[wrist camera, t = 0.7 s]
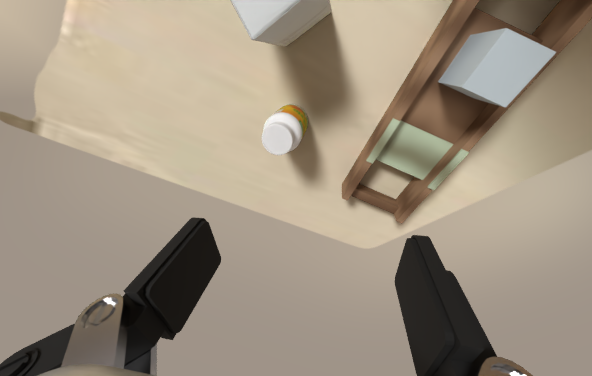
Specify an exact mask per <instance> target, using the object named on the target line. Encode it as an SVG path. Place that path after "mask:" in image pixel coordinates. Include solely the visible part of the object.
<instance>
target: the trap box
mask: <svg viewBox="0 0 592 376" xmlns="http://www.w3.org/2000/svg"><path fill="white" fill-rule="evenodd" d="M478 2H479V0H453V1H452V3H451V5H450V6H449V8H448V10H447V11H446V13H445V15H444V16H443V18H442V20H441V21H440V23H439V25H438V26H437V28H436V30H435V31H434V33H433V35H432V36H431V38H430V40H429V41H428V43H427V44H426V46H425V48H424V49H423V51H422V53H421V54H420V56H419V58H418V59H417V61H416V63H415V64H414V66H413V68H412V69H411V71H410V73H409V74H408V76H407V78H406V79H405V81H404V83H403V84H402V86H401V88H400V89H399V91H398V92H397V94H396V96H395V97H394V99H393V101H392V102H391V104H390V106H389V107H388V109H387V111H386V112H385V114H384V116H383V117H382V119H381V121H380V122H379V124H378V126H377V127H376V129H375V131H374V132H373V134H372V136H371V137H370V139H369V140H368V142H367V144H366V145H365V147H364V149H363V150H362V152H361V154H360V155H359V157H358V159H357V160H356V162H355V164H354V165H353V167H352V169H351V170H350V172H349V174H348V175H347V177H346V179H345V180H344V182H343V184H342V198H343V199H345V200H348V199H349V198H350V196H353V197H356V198H358V199H360V200H363V201H365V202H367V203H370V204H372V205H374V206H377V207H379V208H381V209H384V210H386V211H389V212H391V213H393V214H394V216H395V218H396V221H397V222H400V223H403V222H404V221H405V219H406V218H407V217H408V216H409V215H410V214H411V213H412V212H413V211H414V210H415V209H416V208H417V207H418V205H419V204H420V203H421V202H422V201H423V200H424V199H425V198H426V197H427V196H428V195H429V194H430V192H431V191H432V190H435V189H436V188H437V187H438V186H439V185H440V184H441V182H442V181H443V180H444V179H445V178H446V177H447V176H448V175H449V174H450V173H451V172H452V171H453V170H454V169H455V167H456V166H457V165H458V164H459V163H460V162H461V161H462V160H463V159H464V158H465V157H466V156H467V155H468V154H469V152H468V151H469V150H470V149H471V148H472V147H473V146H474V145H475V144H476V143H477V142H478V141H479V139H480V138H481V137H482V136H483V135H484V134H485V133H486V132H487V131H488V130H489V129H490V128H491V127H492V125H493V124H494V123H495V122H496V121H497V120H498V119H499V118H500V117H501V116H502V115H503V114H504V112H505V111H506V110H507V109H508V108H509V107H510V106H511V105H512V104H513V103H514V102H515V101H516V99H517V98H518V97H519V96H520V95H521V94H522V93H523V92H524V91H525V90H526V89H527V88H528V87H529V85H530V84H531V83H532V82H533V81H534V80H535V79H536V78H537V77H538V76H539V75H540V74H541V72H542V71H543V70H544V69H545V68H546V67H547V66H548V65H549V64H550V63H551V62H552V61H553V59H554V58H555V57H556V56H557V55H558V54H559V53H560V52H561V51H562V50H563V49H564V48H565V47H566V45H567V44H568V43H569V42H570V41H571V40H572V39H573V38H574V37H575V36H576V35H577V34H578V32H579V31H580V30H581V29H582V28H583V27H584V26H585V25H586V24H587V23H588V22H589V21H590V20H591V18H592V0H560V1H559V3H558V4H557V5H556V6H555V8H554V9H553V10H552V11H551V12H550V14H549V15H548V16H547V17H546V18H545V20H544V21H543V22H542V23H541V24H540V26H539V27H538V28H537V29H536V31H535V32H534V33H533V34H532V35H530V34H528V33H526V32H524V31H522V30H520V29H518V28H516V27H514V26H512V25H509V24H507V23H505V22H503V21H501V20H499V19H497V18H495V17H493V16H491V15H489V14H487V13H485V12H483V11H480V10H478V9H476V8H475V6H476V5H477V3H478ZM504 28H508V29H510V30H512V31H514V32H516V33H518V34H520V35H522V36H524V37H526V38H528V39H530V40H532V41H535V42H537V43H539V44H541V45H543V46H545V47H547V48H549V49H551V50H553V51H555V52H556V53H555V54H554V56H553V57H552V58H551V59H550V60H549V61H548V62H547V63H546V64H545V65H544V66H543V68H542V69H541V70H540V71H539V72H538V73H537V74H536V75H535V76H534V77H533V78H532V80H531V81H530V82H529V83H528V84H527V85H526V86H525V87H524V88H523V89H522V90H521V92H520V93H519V94H518V95H517V96H516V97H515V98H514V99H513V100H512V101H511V102H510V104H509V105H508V106H507V107H506V108H505V107H502V106H498V105H495V104H491V103H488V102H484V101H481V100H477V99H474V98H472V97H470V96H467V95H465V94H463V93H461V92H459V91H457V90H454V89H452V88H450V87H448V86H446V85H444V84H441V83H439V82H438V81H439V80H440V78H441V77H442V75H443V74H444V72H445V71H446V70H447V68H448V67H449V65H450V64H451V62H452V61H453V59H454V58H455V56H456V55H457V54H458V52H459V51H460V49H461V48H462V46H463V45H464V43H465V42H466V41H467V39H468V38H469V36H470V35H473V34H478V33H483V32H488V31H494V30H499V29H504ZM375 159H376V160H378V161H380V162H382V163H385V164H387V165H389V166H392V167H394V168H396V169H398V170H401V171H403V172H405V173H408V174H410V175H412V176H414V178H413V179H412V181H411V182H410V183H409V184H408V185H407V187H406V188H405V189H404V190H403V192H402V193H401V194H400V195H399V196H398V198H397V199H394V198H391V197H389V196H387V195H384V194H382V193H380V192H377V191H375V190H373V189H370V188H368V187H366V186H363V185H361V184H359V182H360V181H361V179H362V178H363V176H364V175H365V173H366V172H367V170H368V169H369V167H370V166H371V164H373V162H374V161H375Z"/></svg>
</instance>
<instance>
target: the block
mask: <svg viewBox="0 0 592 376" xmlns="http://www.w3.org/2000/svg"><path fill="white" fill-rule="evenodd" d="M555 53H556V52H555V51H553V50H551V49H549V48H547V47H545V46H543V45H541V44H539V43H537V42H535V41H532V40H530V39H528V38H526V37H524V36H522V35H520V34H518V33H516V32H514V31H512V30H510V29H508V28H504V29H499V30H494V31H488V32H483V33H478V34H473V35H470V36H469V38H468V39H467V41H466V42H465V43H464V45H463V46H462V48H461V49H460V51H459V52H458V54H457V55H456V56H455V58H454V59H453V61H452V62H451V64H450V65H449V67H448V68H447V70H446V71H445V72H444V74H443V75H442V77H441V78H440V80H439V81H438V82H439V83H441V84H444V85H446V86H448V87H450V88H452V89H454V90H457V91H459V92H461V93H463V94H465V95H467V96H470V97H472V98H474V99H477V100H481V101H484V102H488V103H491V104H495V105H498V106H502V107H505V108H506V107H507V106H508V105H509V104H510V102H511V101H512V100H513V99H514V98H515V97H516V96H517V95H518V94H519V93H520V92H521V90H522V89H523V88H524V87H525V86H526V85H527V84H528V83H529V82H530V81H531V80H532V78H533V77H534V76H535V75H536V74H537V73H538V72H539V71H540V70H541V69H542V68H543V66H544V65H545V64H546V63H547V62H548V61H549V60H550V59H551V58H552V57H553V56H554V54H555Z"/></svg>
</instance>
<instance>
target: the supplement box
mask: <svg viewBox="0 0 592 376" xmlns="http://www.w3.org/2000/svg"><path fill="white" fill-rule="evenodd" d="M231 2H232V4H233V6H234V8H235V10H236V12H237V14H238V15H239V17H240V19H241V21H242V23H243V25H244V27H245V29H246V30H247V32H248V34H249V36H250V38H251V39H252V40H255V41H260V42H265V43H270V44H275V45H280V46H285V47H286V46H287V45H289V44H290V43H292V42H293V41H294V40H296V39H297V38H298V37H300V36H301V35H302V34H304V33H305V32H306V31H307V30H309V29H310V28H311V27H313V26H314V25H315V24H317V23H318V22H319V21H320V20H322V19H323V18H324V17H326V16H327V15H328V14H330V13H331V6H330V1H329V0H231Z"/></svg>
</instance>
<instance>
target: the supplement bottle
mask: <svg viewBox="0 0 592 376" xmlns="http://www.w3.org/2000/svg"><path fill="white" fill-rule="evenodd" d="M307 126H308V118H307V115H306V113H305V111H304V110H303V109H302V108H301V107H299V106H297V105H294V104H289V105H285V106H283V107H282V108H280V109H279V110H278V111H276V112H275V113H274V114H273V115H271V116H270V117H269V118H268V119H267V121H266V122H265V125H264V128H263V134H262V143H263V145H264V147H265V149H266V150H267V151H268V152H270V153H272V154H274V155H283V154H286V153H287V152H290V151H292V150H294V149H295V148H296V147H297V146H298V145H299V143H300V142H301V140H302V137H303V135H304V133H305V131H306V129H307Z"/></svg>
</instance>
